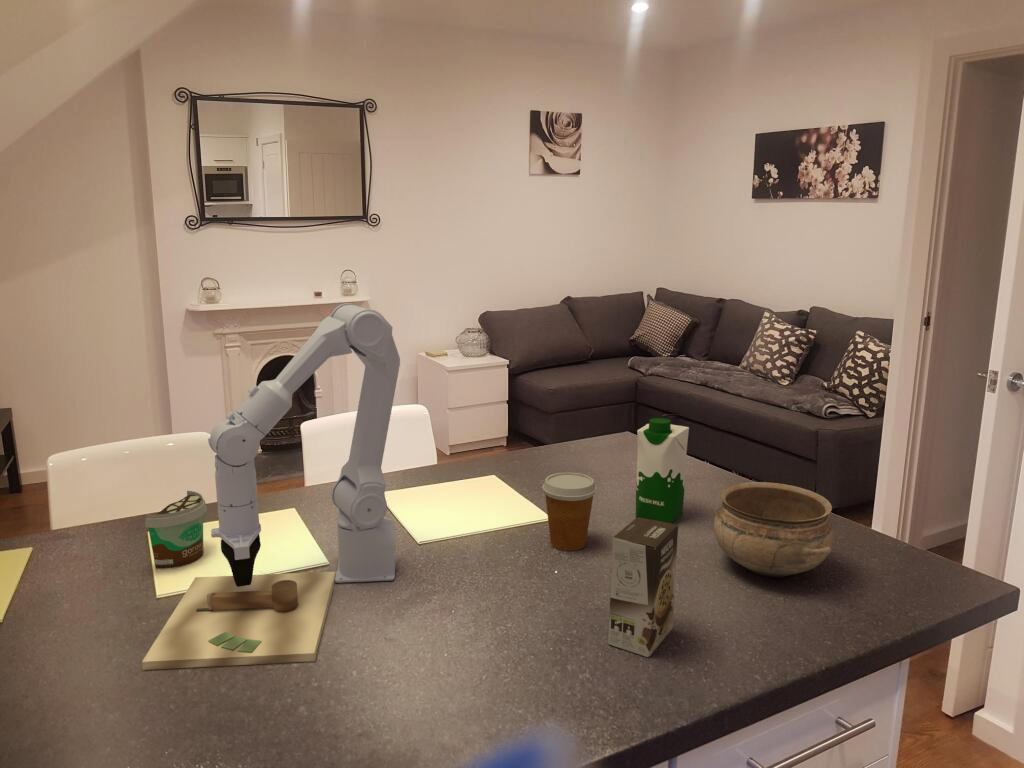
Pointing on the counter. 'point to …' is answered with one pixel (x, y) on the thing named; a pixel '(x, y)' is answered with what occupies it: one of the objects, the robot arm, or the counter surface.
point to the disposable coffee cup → (568, 509)
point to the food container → (178, 532)
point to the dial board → (243, 625)
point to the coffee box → (642, 585)
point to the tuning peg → (257, 598)
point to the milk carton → (661, 470)
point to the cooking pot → (774, 527)
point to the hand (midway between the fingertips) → (243, 583)
